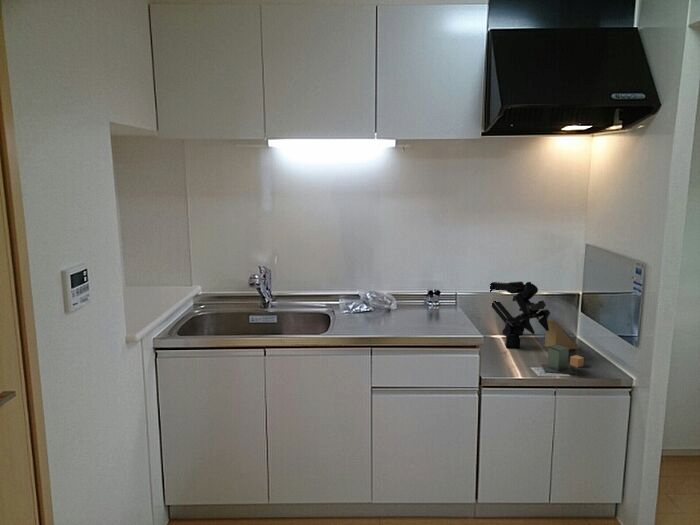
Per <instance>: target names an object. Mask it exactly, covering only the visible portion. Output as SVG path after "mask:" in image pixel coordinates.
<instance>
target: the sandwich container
mask: <svg viewBox="0 0 700 525" xmlns="http://www.w3.org/2000/svg"><path fill="white" fill-rule="evenodd" d="M547 322H548V327H549V331H546V330H545V336H544V337H545V338H544V339H545V340H544V347H546V348H548V346H552V345H557V344H558V345H561V346H564V347H567V348H569V351H570V350H576V349H581V347H580V346H579V345H578V344H577V342H575V341H574V339H573V338H572V337H571V336H570V335H569V334H568V333H567V332H566V331H565V330H564V328H563V327H562V326H561V325H560V324H559V323H558V321H555V320H553V319H550V318H549V317H548V318H547Z"/></svg>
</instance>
